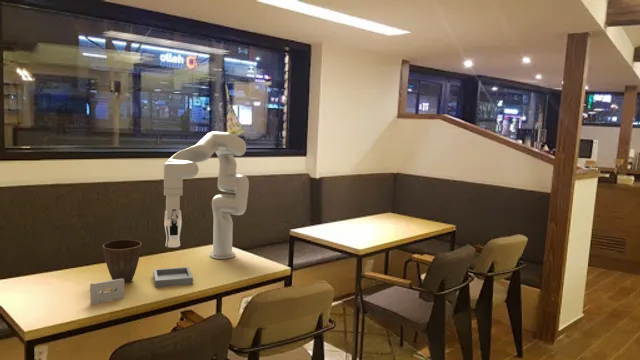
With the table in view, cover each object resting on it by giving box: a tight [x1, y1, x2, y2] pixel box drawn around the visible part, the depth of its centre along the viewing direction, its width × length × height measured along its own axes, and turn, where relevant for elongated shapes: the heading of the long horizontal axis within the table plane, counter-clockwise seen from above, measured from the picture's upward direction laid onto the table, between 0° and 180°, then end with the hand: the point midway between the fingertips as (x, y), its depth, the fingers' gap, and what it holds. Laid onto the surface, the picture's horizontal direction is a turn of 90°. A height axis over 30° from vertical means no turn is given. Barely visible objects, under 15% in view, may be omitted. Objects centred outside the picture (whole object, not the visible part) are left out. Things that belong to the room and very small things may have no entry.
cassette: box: [89, 278, 125, 305], centre depth 180 cm, size 12×2×8 cm, turn 129°
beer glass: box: [163, 210, 183, 249], centre depth 202 cm, size 7×7×15 cm
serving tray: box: [152, 266, 194, 289], centre depth 205 cm, size 15×15×3 cm
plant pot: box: [102, 239, 142, 285], centre depth 200 cm, size 15×15×16 cm
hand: (173, 232), depth 203 cm, fingers closed on beer glass, 6 cm apart
